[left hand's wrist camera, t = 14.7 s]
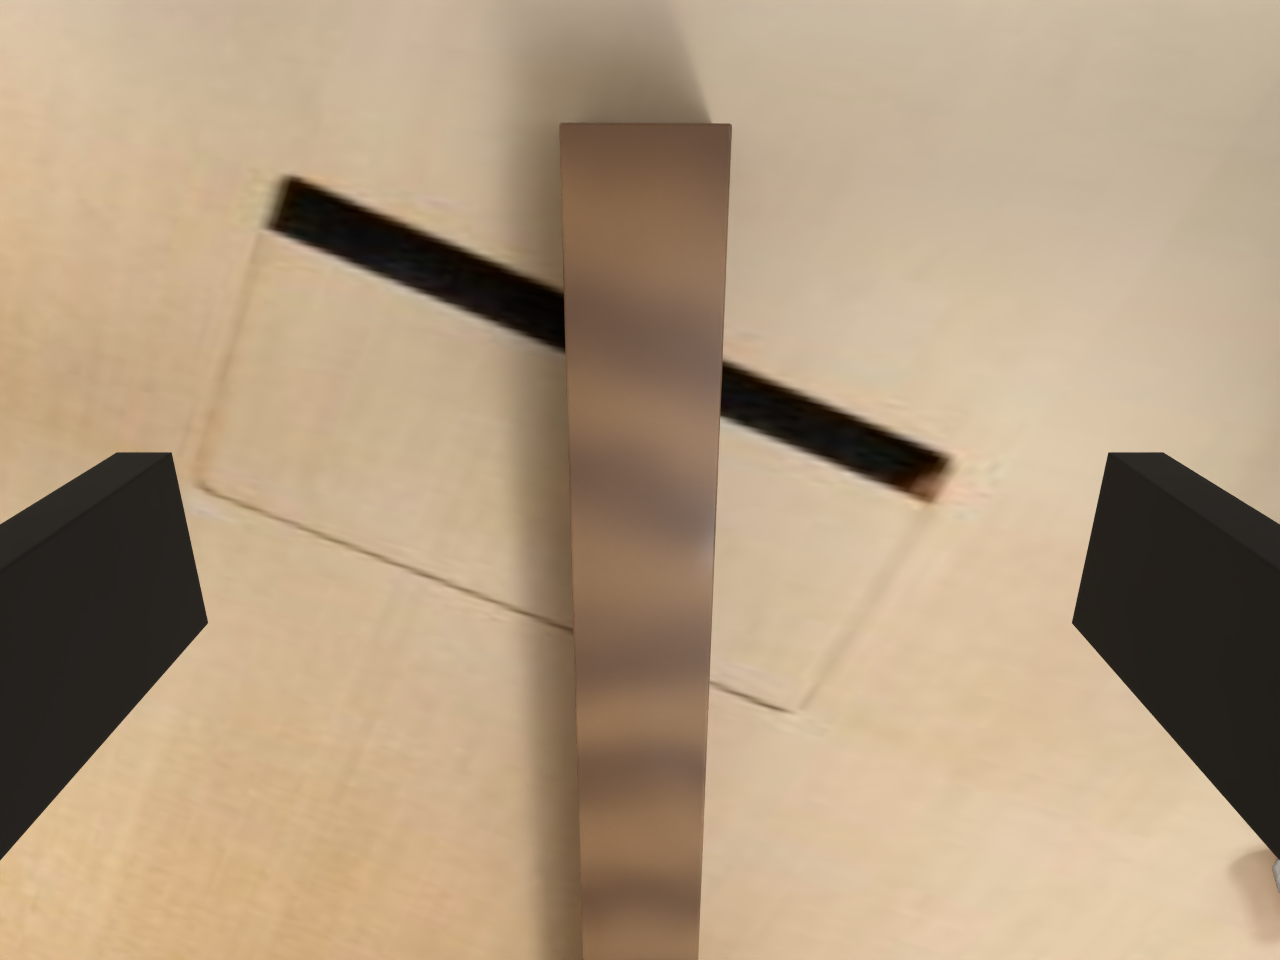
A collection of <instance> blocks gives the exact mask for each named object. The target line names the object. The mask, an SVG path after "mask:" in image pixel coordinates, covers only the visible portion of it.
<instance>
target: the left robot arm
mask: <svg viewBox="0 0 1280 960" xmlns="http://www.w3.org/2000/svg"><path fill="white" fill-rule="evenodd" d="M207 624H208V621H207V616H206V611H205V607H204V602H203V597H202V592H201V588H200V583H199V578H198V574H197V569H196V564H195V560H194V555H193V550H192V546H191V541H190V536H189V532H188V527H187V522H186V518H185V513H184V508H183V504H182V499H181V494H180V490H179V485H178V480H177V476H176V471H175V466H174V462H173V457H172V453H115V454H114V455H112V456H110V457H109V458H107V459H106V460H104V461H102V462H101V463H99V464H97V465H96V466H94V467H93V468H91V469H89V470H88V471H86V472H85V473H83V474H81V475H80V476H78V477H76V478H75V479H73V480H72V481H70V482H68V483H67V484H65V485H63V486H62V487H60V488H59V489H57V490H55V491H54V492H52V493H51V494H49V495H47V496H46V497H44V498H42V499H41V500H39V501H38V502H36V503H34V504H33V505H31V506H29V507H28V508H26V509H25V510H23V511H21V512H20V513H18V514H16V515H15V516H13V517H12V518H10V519H8V520H7V521H5V522H4V523H2V524H0V860H1V859H2V858H3V857H4V856H5V854H6V853H7V852H8V851H9V850H10V849H11V848H12V846H13V845H14V844H15V843H16V842H17V841H18V840H19V838H20V837H21V836H22V835H23V834H24V833H25V832H26V830H27V829H28V828H29V827H30V826H31V825H32V824H33V822H34V821H35V820H36V819H37V818H38V817H39V816H40V814H41V813H42V812H43V811H44V810H45V809H46V808H47V806H48V805H49V804H50V803H51V802H52V801H53V800H54V798H55V797H56V796H57V795H58V794H59V793H60V792H61V790H62V789H63V788H64V787H65V786H66V785H67V784H68V782H69V781H70V780H71V779H72V778H73V777H74V776H75V774H76V773H77V772H78V771H79V770H80V769H81V768H82V766H83V765H84V764H85V763H86V762H87V761H88V760H89V758H90V757H91V756H92V755H93V754H94V753H95V752H96V750H97V749H98V748H99V747H100V746H101V745H102V744H103V742H104V741H105V740H106V739H107V738H108V737H109V736H110V734H111V733H112V732H113V731H114V730H115V729H116V728H117V726H118V725H119V724H120V723H121V722H122V721H123V720H124V718H125V717H126V716H127V715H128V714H129V713H130V712H131V710H132V709H133V708H134V707H135V706H136V705H137V704H138V702H139V701H140V700H141V699H142V698H143V697H144V696H145V694H146V693H147V692H148V691H149V690H150V689H151V688H152V686H153V685H154V684H155V683H156V682H157V681H158V680H159V678H160V677H161V676H162V675H163V674H164V673H165V672H166V670H167V669H168V668H169V667H170V666H171V665H172V664H173V662H174V661H175V660H176V659H177V658H178V657H179V656H180V654H181V653H182V652H183V651H184V650H185V649H186V648H187V646H188V645H189V644H190V643H191V642H192V641H193V640H194V638H195V637H196V636H197V635H198V634H199V633H200V632H201V630H202V629H203V628H204V627H205V626H206V625H207ZM1072 624H1073V625H1074V626H1075V627H1076V628H1077V629H1078V630H1079V632H1080V633H1081V634H1082V635H1083V636H1084V637H1085V638H1086V640H1087V641H1088V642H1089V643H1090V644H1091V645H1092V646H1093V648H1094V649H1095V650H1096V651H1097V652H1098V653H1099V654H1100V656H1101V657H1102V658H1103V659H1104V660H1105V661H1106V662H1107V664H1108V665H1109V666H1110V667H1111V668H1112V669H1113V670H1114V672H1115V673H1116V674H1117V675H1118V676H1119V677H1120V678H1121V680H1122V681H1123V682H1124V683H1125V684H1126V685H1127V686H1128V688H1129V689H1130V690H1131V691H1132V692H1133V693H1134V694H1135V696H1136V697H1137V698H1138V699H1139V700H1140V701H1141V702H1142V704H1143V705H1144V706H1145V707H1146V708H1147V709H1148V710H1149V712H1150V713H1151V714H1152V715H1153V716H1154V717H1155V718H1156V720H1157V721H1158V722H1159V723H1160V724H1161V725H1162V726H1163V728H1164V729H1165V730H1166V731H1167V732H1168V733H1169V734H1170V736H1171V737H1172V738H1173V739H1174V740H1175V741H1176V742H1177V744H1178V745H1179V746H1180V747H1181V748H1182V749H1183V750H1184V752H1185V753H1186V754H1187V755H1188V756H1189V757H1190V758H1191V760H1192V761H1193V762H1194V763H1195V764H1196V765H1197V766H1198V768H1199V769H1200V770H1201V771H1202V772H1203V773H1204V774H1205V776H1206V777H1207V778H1208V779H1209V780H1210V781H1211V782H1212V784H1213V785H1214V786H1215V787H1216V788H1217V789H1218V790H1219V792H1220V793H1221V794H1222V795H1223V796H1224V797H1225V798H1226V800H1227V801H1228V802H1229V803H1230V804H1231V805H1232V806H1233V808H1234V809H1235V810H1236V811H1237V812H1238V813H1239V814H1240V816H1241V817H1242V818H1243V819H1244V820H1245V821H1246V822H1247V824H1248V825H1249V826H1250V827H1251V828H1252V829H1253V830H1254V832H1255V833H1256V834H1257V835H1258V836H1259V837H1260V838H1261V840H1262V841H1263V842H1264V843H1265V844H1266V845H1267V846H1268V848H1269V849H1270V850H1271V851H1272V852H1273V853H1274V854H1275V856H1276V857H1277V858H1278V859H1279V860H1280V524H1278V523H1276V522H1275V521H1273V520H1272V519H1270V518H1268V517H1267V516H1265V515H1264V514H1262V513H1260V512H1259V511H1257V510H1255V509H1254V508H1252V507H1251V506H1249V505H1247V504H1246V503H1244V502H1242V501H1241V500H1239V499H1238V498H1236V497H1234V496H1233V495H1231V494H1229V493H1228V492H1226V491H1225V490H1223V489H1221V488H1220V487H1218V486H1217V485H1215V484H1213V483H1212V482H1210V481H1208V480H1207V479H1205V478H1204V477H1202V476H1200V475H1199V474H1197V473H1195V472H1194V471H1192V470H1191V469H1189V468H1187V467H1186V466H1184V465H1183V464H1181V463H1179V462H1178V461H1176V460H1174V459H1173V458H1171V457H1170V456H1168V455H1166V454H1165V453H1108V457H1107V462H1106V466H1105V471H1104V476H1103V480H1102V485H1101V490H1100V494H1099V499H1098V504H1097V508H1096V513H1095V518H1094V522H1093V527H1092V532H1091V536H1090V541H1089V546H1088V550H1087V555H1086V560H1085V564H1084V569H1083V574H1082V578H1081V583H1080V588H1079V592H1078V597H1077V602H1076V607H1075V611H1074V616H1073V621H1072Z"/></svg>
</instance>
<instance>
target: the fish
mask: <svg viewBox="0 0 1280 960" xmlns="http://www.w3.org/2000/svg"><path fill="white" fill-rule="evenodd" d="M1272 870H1273V873H1274V877H1275V881H1276V885H1277V889H1278V891H1279V893H1280V860H1279V859H1277V860H1276V862H1275V863H1274V865H1273V867H1272Z"/></svg>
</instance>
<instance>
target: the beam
mask: <svg viewBox="0 0 1280 960" xmlns="http://www.w3.org/2000/svg"><path fill="white" fill-rule="evenodd" d="M559 130H560V166H561V201H562V237H563V273H564V308H565V344H566V379H567V415H568V450H569V486H570V522H571V557H572V593H573V628H574V664H575V699H576V735H577V770H578V806H579V842H580V877H581V913H582V948H583V960H698V949H699V924H700V900H701V875H702V850H703V825H704V801H705V776H706V751H707V727H708V702H709V677H710V652H711V628H712V603H713V578H714V554H715V529H716V504H717V479H718V455H719V430H720V405H721V381H722V356H723V331H724V306H725V282H726V257H727V232H728V208H729V183H730V158H731V133H732V125H731V124H710V123H560V125H559Z"/></svg>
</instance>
